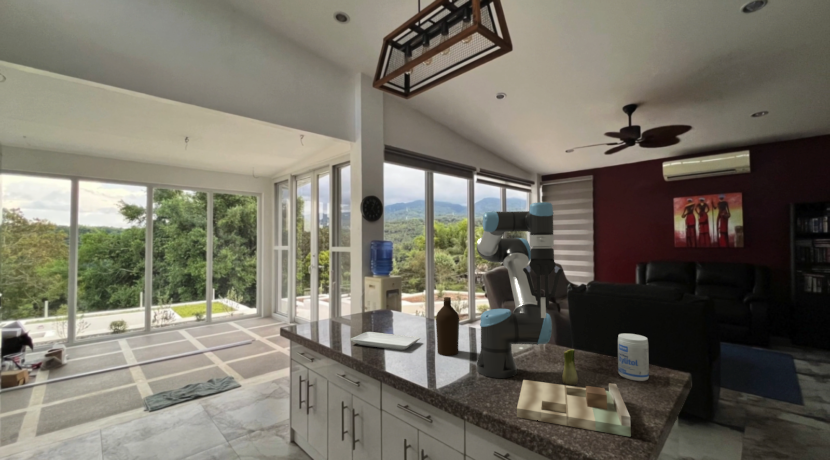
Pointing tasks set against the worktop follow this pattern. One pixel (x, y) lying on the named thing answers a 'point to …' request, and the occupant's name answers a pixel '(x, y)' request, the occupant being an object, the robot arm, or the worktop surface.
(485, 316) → the robot arm
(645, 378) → the supplement tub
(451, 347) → the olive oil
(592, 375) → the worktop surface
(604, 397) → the block
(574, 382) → the fennel bulb
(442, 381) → the worktop surface
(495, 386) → the worktop surface
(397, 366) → the worktop surface
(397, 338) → the tray
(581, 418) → the board
